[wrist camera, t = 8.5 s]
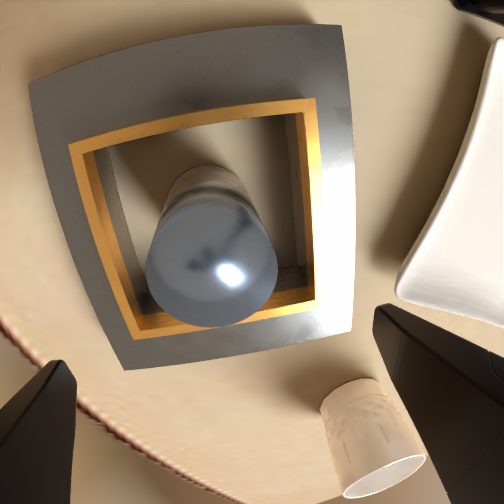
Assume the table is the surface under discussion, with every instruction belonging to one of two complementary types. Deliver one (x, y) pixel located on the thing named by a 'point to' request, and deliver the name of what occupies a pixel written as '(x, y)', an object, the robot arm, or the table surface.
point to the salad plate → (467, 218)
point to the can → (210, 251)
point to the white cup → (368, 439)
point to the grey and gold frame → (196, 114)
